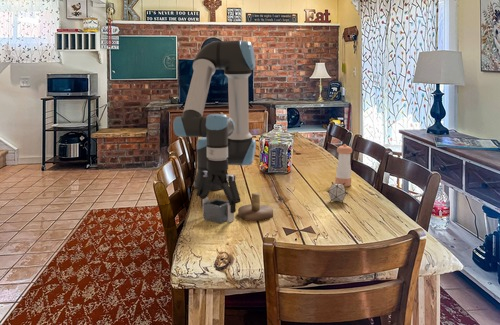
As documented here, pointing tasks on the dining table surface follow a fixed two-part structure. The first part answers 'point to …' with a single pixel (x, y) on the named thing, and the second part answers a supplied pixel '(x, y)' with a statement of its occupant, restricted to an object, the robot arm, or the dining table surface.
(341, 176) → the pepper shaker
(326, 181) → the dining table surface
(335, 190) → the game die
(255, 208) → the round base with post
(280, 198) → the dining table surface
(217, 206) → the hollow square box
